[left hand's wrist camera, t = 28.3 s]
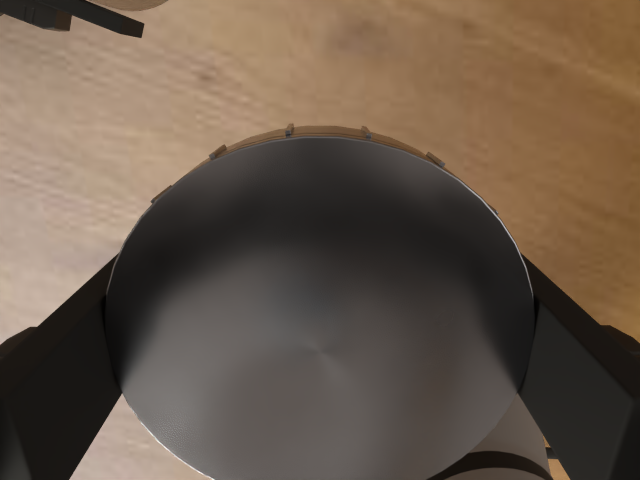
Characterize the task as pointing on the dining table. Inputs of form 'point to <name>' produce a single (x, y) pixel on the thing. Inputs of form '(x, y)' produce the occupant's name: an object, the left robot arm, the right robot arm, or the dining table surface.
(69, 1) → the right robot arm
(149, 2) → the jar
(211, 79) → the dining table surface
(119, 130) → the dining table surface
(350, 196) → the lid
